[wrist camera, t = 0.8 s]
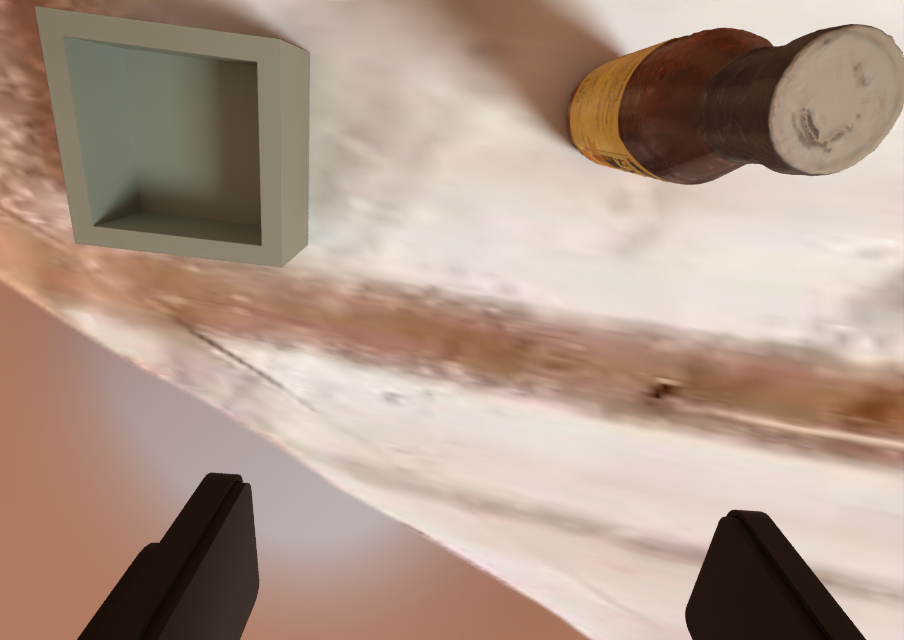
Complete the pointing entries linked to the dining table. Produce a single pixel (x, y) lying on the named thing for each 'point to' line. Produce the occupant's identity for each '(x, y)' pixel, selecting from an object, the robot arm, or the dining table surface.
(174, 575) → the robot arm
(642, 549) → the dining table surface
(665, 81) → the sauce bottle
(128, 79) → the box
